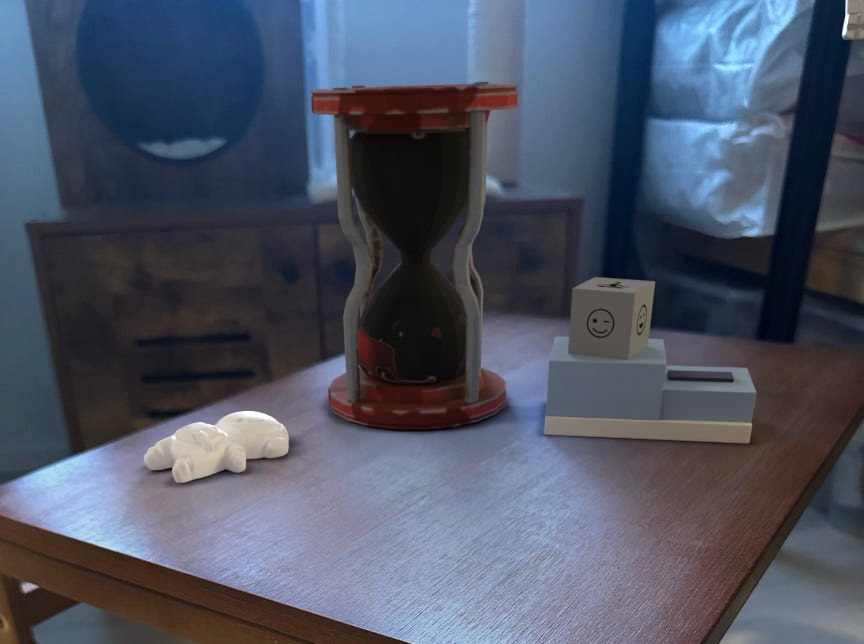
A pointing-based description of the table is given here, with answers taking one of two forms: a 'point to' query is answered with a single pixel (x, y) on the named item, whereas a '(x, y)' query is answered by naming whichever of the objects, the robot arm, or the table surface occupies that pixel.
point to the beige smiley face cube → (610, 317)
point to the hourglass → (413, 251)
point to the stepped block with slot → (646, 397)
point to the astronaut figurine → (219, 446)
